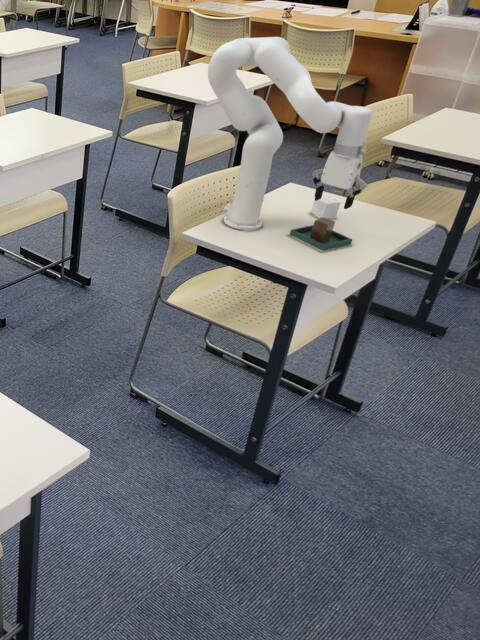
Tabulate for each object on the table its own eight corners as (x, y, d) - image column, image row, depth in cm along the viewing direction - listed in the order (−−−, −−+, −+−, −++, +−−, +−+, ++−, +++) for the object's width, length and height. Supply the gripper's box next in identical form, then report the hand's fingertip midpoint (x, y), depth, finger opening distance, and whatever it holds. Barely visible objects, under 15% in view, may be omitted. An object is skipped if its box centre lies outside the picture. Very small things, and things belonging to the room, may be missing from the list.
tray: (288, 235, 231) (290, 229, 229) (316, 229, 235) (318, 223, 234) (321, 252, 220) (323, 245, 219) (350, 245, 225) (352, 239, 224)
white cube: (310, 213, 248) (314, 197, 244) (324, 212, 249) (328, 196, 246) (321, 220, 243) (326, 203, 240) (335, 218, 245) (340, 202, 241)
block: (309, 238, 227) (314, 220, 224) (316, 235, 230) (321, 217, 226) (322, 243, 225) (328, 224, 221) (329, 239, 227) (335, 221, 224)
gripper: (381, 154, 207) (364, 208, 217) (326, 141, 218) (312, 193, 228) (370, 158, 203) (353, 214, 213) (314, 145, 214) (300, 198, 223)
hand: (332, 203), depth 220 cm, fingers open, 9 cm apart
